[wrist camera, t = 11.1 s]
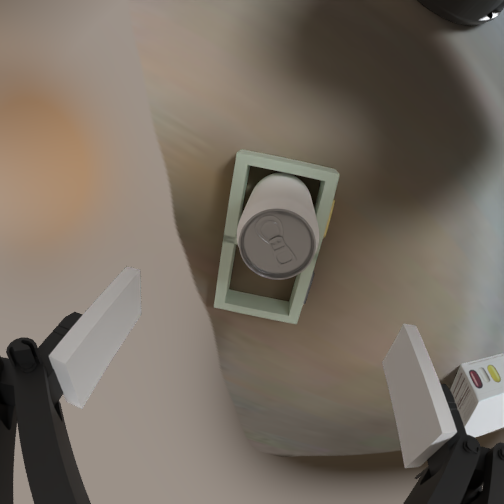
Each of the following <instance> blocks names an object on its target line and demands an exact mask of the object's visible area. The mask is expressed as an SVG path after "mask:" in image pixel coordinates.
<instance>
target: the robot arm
mask: <svg viewBox="0 0 504 504" xmlns="http://www.w3.org/2000/svg"><path fill="white" fill-rule="evenodd" d="M418 1H419V2H420V3H422V4H423V5H424V6H425V7H427V8H428V9H429V10H431V11H432V12H434V13H436V14H437V15H439V16H441V17H443V18H445V19H447V20H449V21H452V22H455V23H458V24H462V25H479V24H482V23H485V22H488V21H491V20H493V19H494V18H496V17H497V16H498V15H499V14H500V12H501V11H502V10H503V8H504V0H418ZM141 314H142V312H141V276H140V269H136V268H132V267H128V266H126V267H125V268H124V270H123V271H122V272H121V273H120V274H119V275H118V276H117V277H116V278H115V279H114V280H113V282H112V283H111V284H110V285H109V286H108V287H107V288H106V289H105V290H104V291H103V292H102V294H101V295H100V296H99V297H98V298H97V299H96V300H95V301H94V302H93V304H92V305H91V306H90V307H89V308H88V309H87V311H86V312H85V313H84V314H83V315H82V314H79V313H76V312H74V313H72V314H70V315H68V316H66V317H65V318H64V319H63V320H62V321H61V322H60V323H59V325H58V326H57V327H56V328H55V329H54V330H53V332H52V333H51V334H50V335H49V336H48V337H47V338H46V339H45V341H44V342H43V343H42V344H41V345H40V346H39V348H37V345H36V343H35V342H34V341H33V340H32V339H29V338H19V339H16V340H14V341H13V342H11V343H10V344H9V346H8V347H7V351H6V353H7V355H8V358H9V359H8V358H3V357H0V504H13V466H14V449H15V437H16V427H17V423H18V430H19V437H20V443H21V448H22V454H23V459H24V464H25V469H26V473H27V477H28V481H29V486H30V490H31V493H32V497H33V500H34V504H91V503H90V501H89V498H88V495H87V493H86V490H85V487H84V485H83V482H82V479H81V476H80V473H79V470H78V467H77V465H76V461H75V458H74V455H73V451H72V448H71V444H70V441H69V437H68V434H67V430H66V426H65V422H64V417H63V414H62V409H61V404H60V402H59V399H60V398H61V396H62V395H64V397H65V399H66V402H68V403H70V404H72V405H74V406H76V407H79V408H81V409H82V408H83V406H84V405H85V403H86V402H87V400H88V398H89V396H90V395H91V393H92V391H93V390H94V388H95V386H96V385H97V383H98V382H99V380H100V378H101V377H102V375H103V374H104V371H105V370H106V369H107V367H108V365H109V364H110V362H111V361H112V359H113V357H114V356H115V354H116V353H117V351H118V350H119V348H120V346H121V345H122V343H123V342H124V340H125V339H126V337H127V335H128V334H129V333H130V331H131V330H132V328H133V326H134V325H135V323H136V322H137V320H138V319H139V317H140V316H141ZM382 364H383V368H384V372H385V376H386V380H387V384H388V388H389V392H390V397H391V401H392V405H393V410H394V414H395V419H396V424H397V428H398V433H399V438H400V444H401V449H402V455H403V460H404V466H405V468H411V467H420V466H421V465H422V464H423V463H424V462H426V461H428V465H429V466H428V467H427V468H426V469H424V470H423V471H422V472H421V473H419V474H418V475H417V476H416V477H415V478H416V479H417V478H419V477H420V476H421V477H420V478H419V480H418V482H417V484H416V485H415V487H414V488H413V490H412V491H411V493H410V495H409V496H408V498H407V499H406V501H405V502H404V504H504V443H498V444H496V445H495V446H494V447H493V448H492V449H489V448H485V447H480V444H479V442H478V441H477V439H475V438H474V437H473V436H470V435H467V433H466V430H465V427H464V425H463V422H462V419H461V416H460V413H459V410H457V409H458V408H457V405H456V403H455V400H454V397H453V395H452V392H451V391H450V390H449V388H448V387H447V386H446V385H445V384H440V382H439V379H438V377H437V374H436V372H435V369H434V367H433V364H432V362H431V359H430V357H429V355H428V352H427V350H426V347H425V345H424V343H423V340H422V338H421V336H420V334H419V331H418V329H417V327H416V325H409V324H403V326H402V327H401V329H400V331H399V333H398V335H397V337H396V339H395V341H394V342H393V344H392V346H391V348H390V350H389V351H388V353H387V355H386V357H385V358H384V360H383V362H382ZM482 486H483V489H482Z"/></svg>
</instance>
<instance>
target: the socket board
mask: <svg viewBox="0 0 504 504" xmlns="http://www.w3.org/2000/svg"><path fill="white" fill-rule="evenodd" d="M250 166H255V167H260V168H265V169H270V170H275V171H280V172H285V173H290V174H294V175H299V176H304V177H308V178H312V179H317V180H321V183H320V187H319V191H318V195H317V199H316V203H315V207H314V210H315V214H316V218H317V223H318V227H319V244H318V248H317V251H316V253H315V255H314V257H313V259H312V261H311V263H310V264H309V266H308V267H307V268H306V269H305V270H304V271H303V272H301V273H300V274H298V275H297V276H296V279H295V283H294V286H293V290H292V293H291V297H290V300H289V301H284V300H279V299H274V298H269V297H264V296H259V295H254V294H249V293H244V292H240V291H235V290H230V289H229V287H230V281H231V275H232V268H233V262H234V256H235V250H236V244H237V245H238V243H237V227H238V224H239V221H240V218H241V215H242V209H243V203H244V198H245V192H246V186H247V181H248V175H249V169H250ZM339 175H340V174H339V173H338V172H337V171H336V169H333V168H328V167H324V166H320V165H316V164H312V163H307V162H303V161H298V160H294V159H289V158H284V157H279V156H274V155H269V154H264V153H259V152H253V151H248V150H242V149H241V150H240V151H239V152H237V155H236V161H235V167H234V173H233V179H232V185H231V192H230V198H229V204H228V211H227V217H226V224H225V230H224V237H223V244H222V251H221V258H220V265H219V272H218V279H217V286H216V294H215V301H214V307H215V308H219V309H224V310H228V311H233V312H237V313H242V314H247V315H252V316H257V317H262V318H267V319H272V320H277V321H282V322H287V323H293V324H297V322H298V319H299V315H300V312H301V309H302V306H303V304H305V303H306V300H307V297H308V293H309V290H310V287H311V284H312V281H313V277H314V267H315V264H316V260H317V257H318V253H319V250H320V247H321V243H322V240H323V237H324V238H325V237H326V233H327V229H328V226H329V222H330V219H331V215H332V211H333V207H334V204H335V200H334V195H335V191H336V187H337V183H338V179H339Z"/></svg>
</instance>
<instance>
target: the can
mask: <svg viewBox="0 0 504 504" xmlns="http://www.w3.org/2000/svg"><path fill="white" fill-rule="evenodd" d="M237 243H238V247H239V251H240V255H241V257H242V259H243V261H244V263H245V264H246V265H247V266H248V268H249V269H251V270H252V271H253V272H254V273H256V274H258V275H259V276H262V277H264V278H268V279H273V280H283V279H288V278H292V277H294V276H296V275H298V274H300V273H301V272H303V271H304V270H305V269H306V268H307V267H308V266H309V264H310V263H311V261H312V259H313V257H314V255H315V253H316V251H317V248H318V244H319V227H318V223H317V218H316V214H315V210H314V206H313V203H312V199H311V195H310V193H309V190H308V188H307V187H306V185H305V184H304V183H303V182H302V181H301V180H300V179H299V178H297V177H296V176H294V175H291V174H288V173H273V174H270V175H268V176H266V177H264V178H263V179H262V180H260V181H259V182H258V183H257V185H256V186H255V187H254V189H253V191H252V193H251V195H250V198H249V200H248V202H247V204H246V206H245V209H244V211H243V213H242V216H241V218H240V221H239V224H238V227H237Z"/></svg>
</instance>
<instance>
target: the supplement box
mask: <svg viewBox="0 0 504 504" xmlns="http://www.w3.org/2000/svg"><path fill="white" fill-rule="evenodd" d="M450 391H451V392H452V395H453V397H454V400H455V403H456V405H457V408H458V409H457V410H459V413H460V416H461V419H462V422H463V425H464V427H465V430H466V433H467V435H470V436H473V437H474V438H475V437H478V436H481V435H484V434H487V433H489V432H492V431H495V430H497V429H500V428H503V427H504V353H502V354H498V355H494V356H491V357H487V358H483V359H479V360H475V361H471V362H467V363H463V364H461V365H460V367H459V369H458V372H457V374H456V377H455V379H454V382H453V384H452V387H451V389H450Z"/></svg>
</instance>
